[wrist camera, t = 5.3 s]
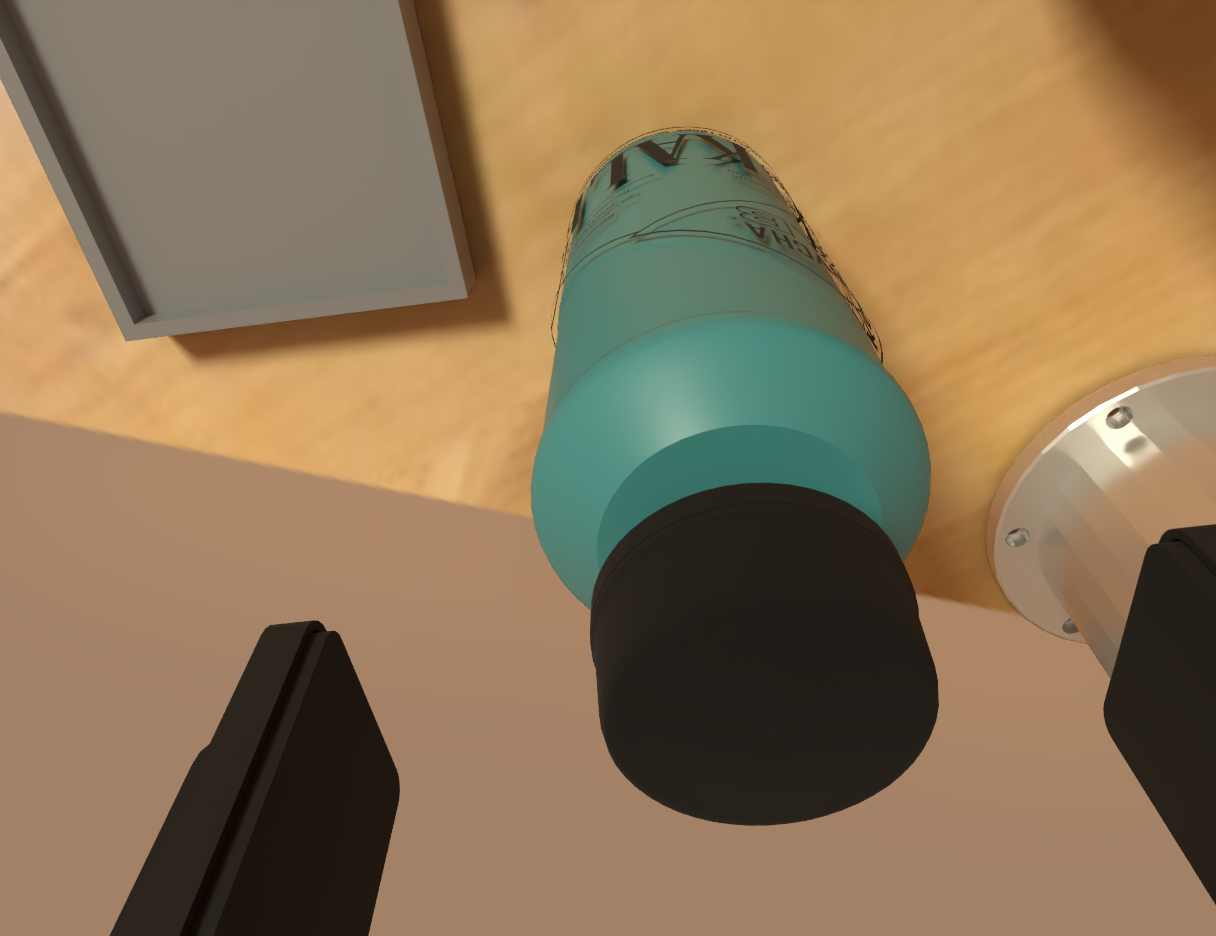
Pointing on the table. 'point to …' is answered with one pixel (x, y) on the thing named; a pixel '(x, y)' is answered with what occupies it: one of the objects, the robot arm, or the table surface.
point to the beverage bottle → (732, 495)
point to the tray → (241, 155)
